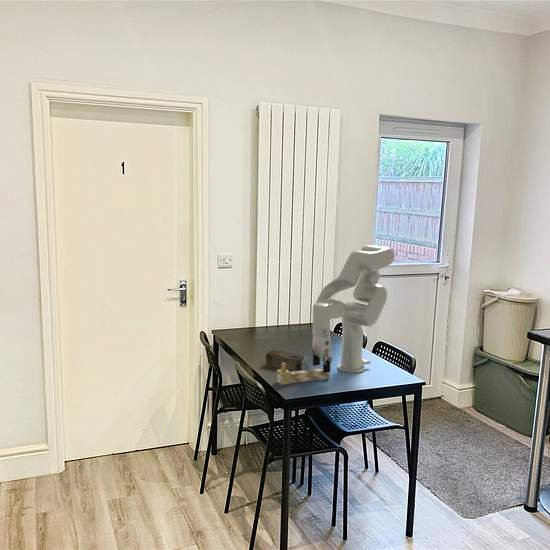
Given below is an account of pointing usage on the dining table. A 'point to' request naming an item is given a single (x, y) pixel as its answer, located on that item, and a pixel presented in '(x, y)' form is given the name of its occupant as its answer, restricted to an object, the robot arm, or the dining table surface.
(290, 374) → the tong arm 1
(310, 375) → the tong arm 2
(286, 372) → the lock collar
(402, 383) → the dining table surface
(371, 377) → the dining table surface
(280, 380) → the block
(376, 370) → the dining table surface
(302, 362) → the beverage carton
